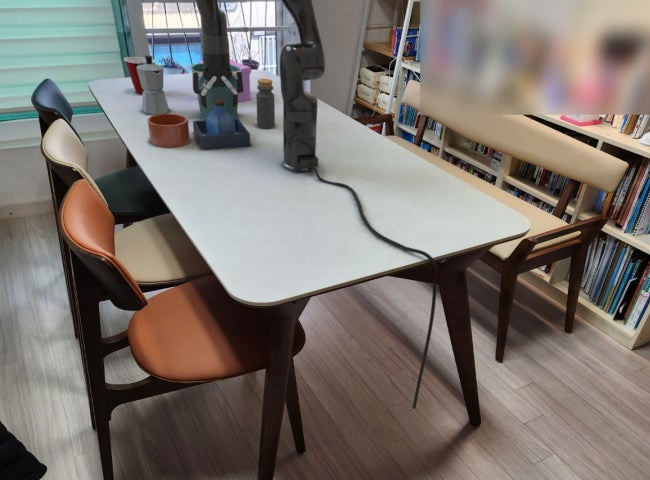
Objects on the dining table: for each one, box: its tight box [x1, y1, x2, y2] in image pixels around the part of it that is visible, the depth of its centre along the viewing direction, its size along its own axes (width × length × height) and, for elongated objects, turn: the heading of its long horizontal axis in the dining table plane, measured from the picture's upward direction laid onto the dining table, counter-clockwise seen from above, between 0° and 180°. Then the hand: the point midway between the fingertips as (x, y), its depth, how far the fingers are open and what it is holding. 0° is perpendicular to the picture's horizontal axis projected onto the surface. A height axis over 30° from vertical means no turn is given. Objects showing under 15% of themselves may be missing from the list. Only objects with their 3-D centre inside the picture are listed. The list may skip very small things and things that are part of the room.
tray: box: [192, 117, 251, 150], centre depth 163 cm, size 14×14×4 cm
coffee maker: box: [137, 55, 170, 116], centre depth 176 cm, size 15×9×18 cm, turn 42°
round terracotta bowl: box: [146, 113, 191, 148], centre depth 158 cm, size 11×11×6 cm
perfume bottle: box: [205, 99, 237, 136], centre depth 161 cm, size 6×6×12 cm
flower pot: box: [189, 62, 242, 120], centre depth 178 cm, size 16×16×16 cm
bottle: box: [255, 78, 276, 130], centre depth 174 cm, size 6×6×15 cm
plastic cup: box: [123, 56, 157, 95], centre depth 194 cm, size 11×11×12 cm
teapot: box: [187, 58, 252, 102], centre depth 197 cm, size 15×25×14 cm, turn 131°
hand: (219, 106), depth 159 cm, fingers open, 8 cm apart
